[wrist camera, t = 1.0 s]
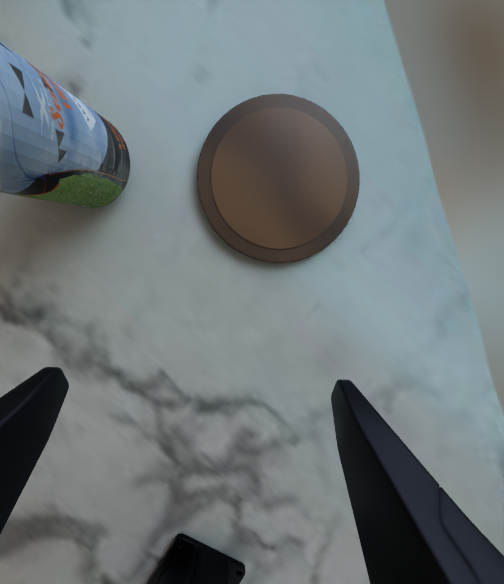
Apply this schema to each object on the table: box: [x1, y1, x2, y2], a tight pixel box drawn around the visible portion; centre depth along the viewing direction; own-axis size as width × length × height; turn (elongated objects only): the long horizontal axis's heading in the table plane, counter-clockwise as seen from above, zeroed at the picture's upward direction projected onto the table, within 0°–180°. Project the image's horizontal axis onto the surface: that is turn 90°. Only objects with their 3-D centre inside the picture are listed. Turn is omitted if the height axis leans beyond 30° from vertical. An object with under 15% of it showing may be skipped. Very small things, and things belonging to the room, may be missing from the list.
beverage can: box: [0, 42, 130, 208], centre depth 14 cm, size 6×7×12 cm
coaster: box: [197, 94, 359, 263], centre depth 21 cm, size 12×12×1 cm
